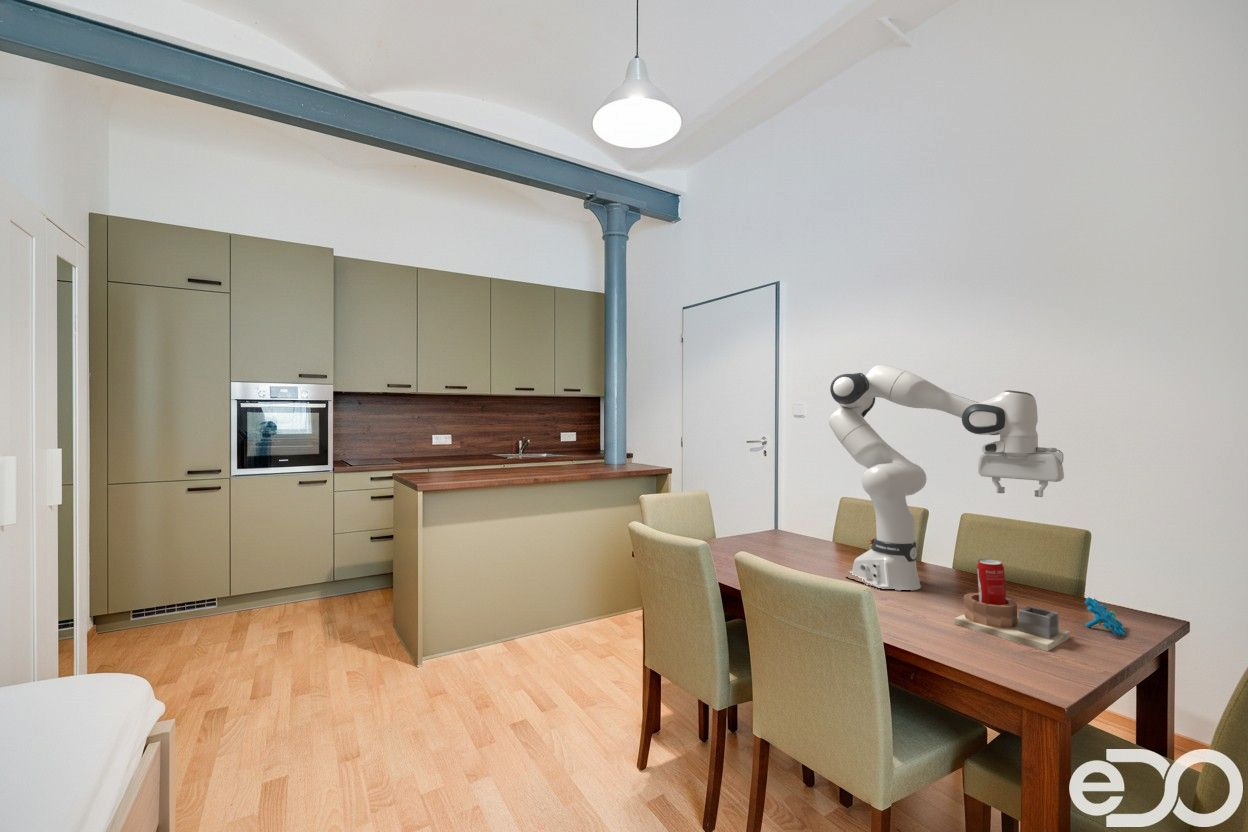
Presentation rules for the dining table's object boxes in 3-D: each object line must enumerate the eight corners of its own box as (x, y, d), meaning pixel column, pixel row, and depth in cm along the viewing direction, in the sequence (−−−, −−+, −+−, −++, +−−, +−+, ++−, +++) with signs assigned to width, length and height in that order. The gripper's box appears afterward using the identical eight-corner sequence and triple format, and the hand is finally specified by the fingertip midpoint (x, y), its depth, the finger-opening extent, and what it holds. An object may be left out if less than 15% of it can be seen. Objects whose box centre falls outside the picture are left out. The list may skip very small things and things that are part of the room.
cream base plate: (954, 624, 140) (954, 598, 140) (978, 613, 147) (978, 589, 148) (1047, 651, 123) (1047, 622, 123) (1069, 637, 131) (1069, 610, 131)
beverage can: (1010, 619, 139) (1010, 561, 139) (999, 625, 135) (999, 565, 135) (985, 612, 144) (984, 556, 144) (973, 618, 140) (973, 560, 140)
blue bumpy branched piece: (1119, 635, 128) (1083, 596, 135) (1096, 646, 132) (1062, 608, 138) (1136, 631, 134) (1101, 595, 140) (1113, 643, 137) (1080, 606, 144)
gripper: (1067, 447, 149) (1068, 498, 148) (984, 445, 166) (985, 490, 166) (1058, 448, 145) (1059, 500, 145) (975, 445, 162) (975, 492, 162)
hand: (1019, 494), depth 155 cm, fingers open, 8 cm apart
